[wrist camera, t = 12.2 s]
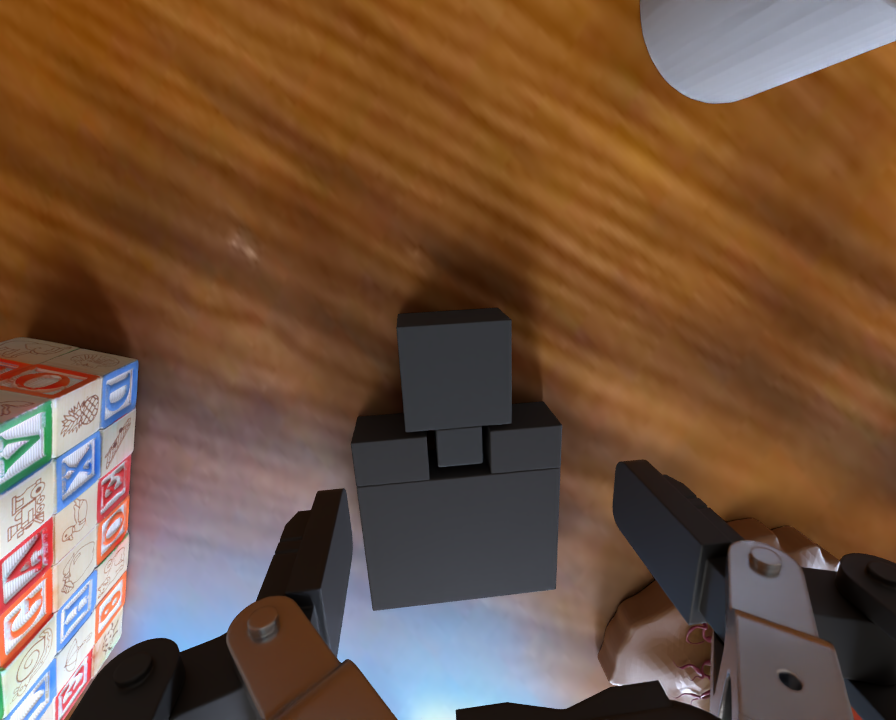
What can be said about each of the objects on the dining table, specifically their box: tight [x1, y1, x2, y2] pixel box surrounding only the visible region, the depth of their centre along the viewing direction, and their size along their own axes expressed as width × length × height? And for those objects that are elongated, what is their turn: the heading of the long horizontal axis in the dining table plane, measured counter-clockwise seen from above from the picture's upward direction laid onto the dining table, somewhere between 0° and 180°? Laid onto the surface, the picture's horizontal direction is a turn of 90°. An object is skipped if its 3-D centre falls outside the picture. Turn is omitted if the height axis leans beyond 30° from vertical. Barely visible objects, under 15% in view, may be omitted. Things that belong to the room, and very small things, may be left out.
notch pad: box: [351, 402, 562, 611], centre depth 27 cm, size 12×12×4 cm
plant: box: [598, 518, 840, 712], centre depth 30 cm, size 20×20×11 cm
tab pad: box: [397, 308, 512, 467], centre depth 25 cm, size 6×8×4 cm
